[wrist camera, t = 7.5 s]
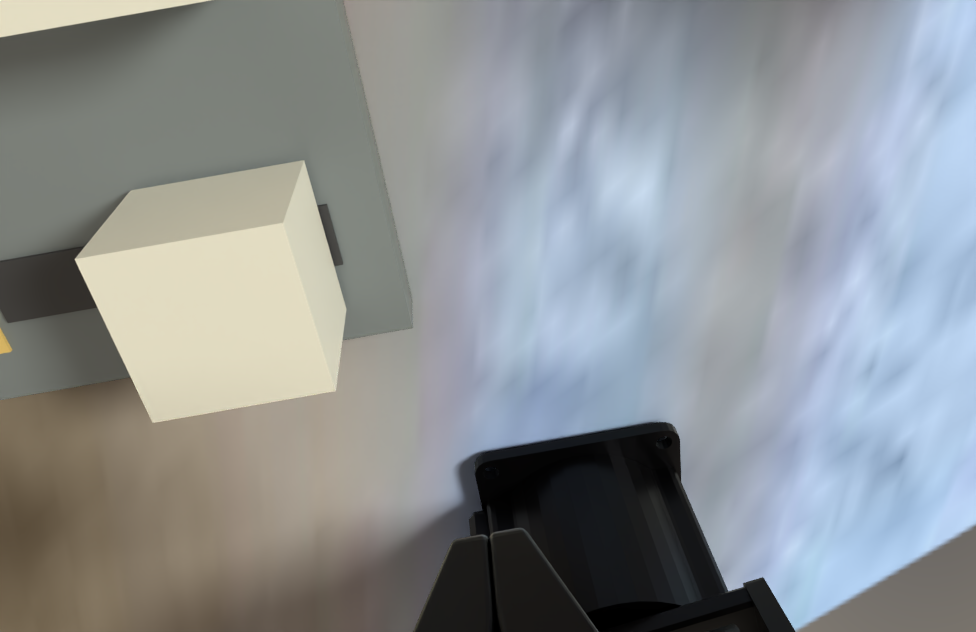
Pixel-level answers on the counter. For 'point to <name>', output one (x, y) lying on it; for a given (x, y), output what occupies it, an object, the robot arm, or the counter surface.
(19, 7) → the middle tab
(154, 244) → the cream cube
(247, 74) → the switch bank
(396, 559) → the counter surface
